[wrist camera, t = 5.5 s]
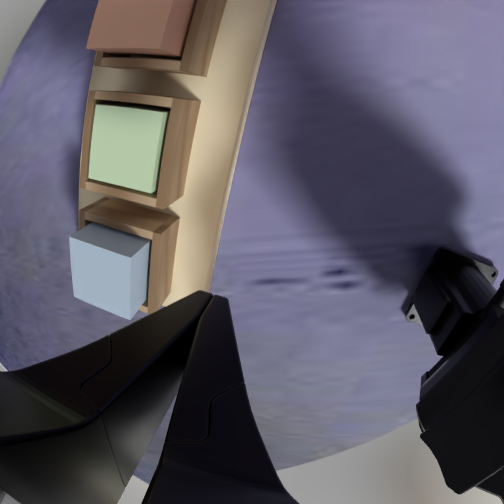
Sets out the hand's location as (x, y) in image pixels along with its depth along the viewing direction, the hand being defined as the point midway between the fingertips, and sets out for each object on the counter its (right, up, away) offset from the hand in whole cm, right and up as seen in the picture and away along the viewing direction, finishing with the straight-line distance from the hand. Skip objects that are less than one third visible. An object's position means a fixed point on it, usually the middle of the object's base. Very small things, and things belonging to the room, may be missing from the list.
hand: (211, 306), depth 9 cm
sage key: (-5, +8, +9) cm, 14 cm away
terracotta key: (-4, +14, +4) cm, 15 cm away
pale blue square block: (-7, +1, +11) cm, 13 cm away
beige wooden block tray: (-5, +9, +11) cm, 15 cm away
